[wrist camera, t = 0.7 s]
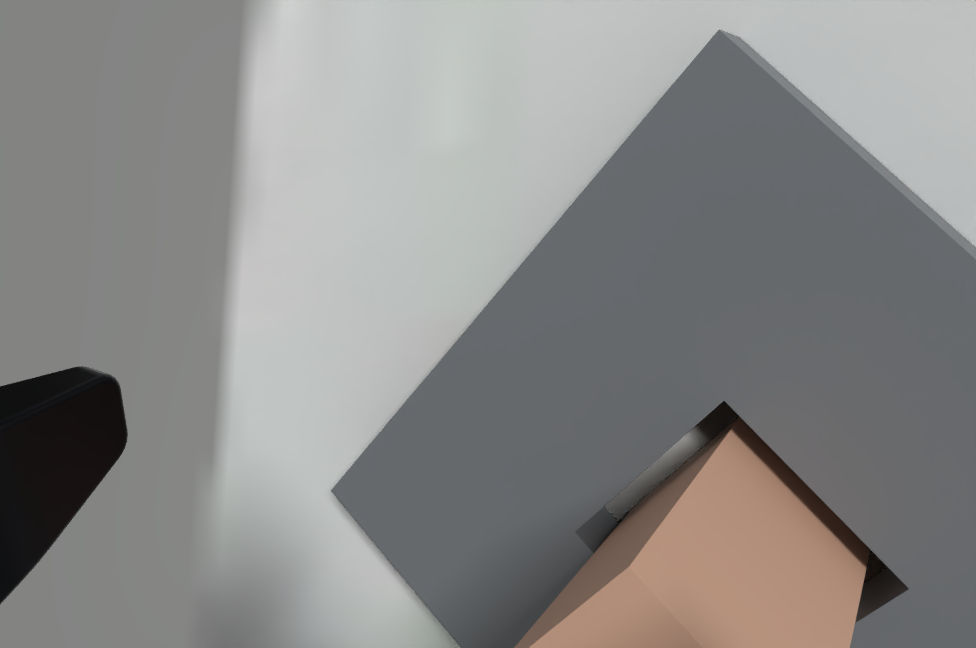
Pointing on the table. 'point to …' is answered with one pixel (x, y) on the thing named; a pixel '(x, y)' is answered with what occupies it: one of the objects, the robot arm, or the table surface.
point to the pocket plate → (701, 366)
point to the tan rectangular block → (717, 563)
